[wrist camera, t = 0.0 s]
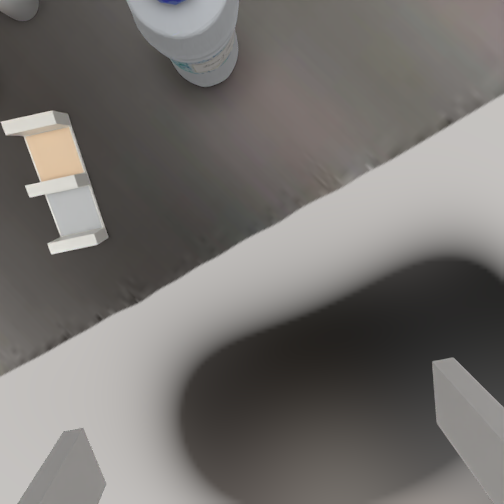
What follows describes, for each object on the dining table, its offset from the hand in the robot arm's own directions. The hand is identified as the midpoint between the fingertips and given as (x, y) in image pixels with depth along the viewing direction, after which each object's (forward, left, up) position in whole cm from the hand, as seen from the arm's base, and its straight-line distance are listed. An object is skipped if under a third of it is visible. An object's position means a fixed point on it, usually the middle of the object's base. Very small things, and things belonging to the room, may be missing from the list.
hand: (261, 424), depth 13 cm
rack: (-10, -18, -28) cm, 35 cm away
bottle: (-19, 0, -28) cm, 34 cm away
